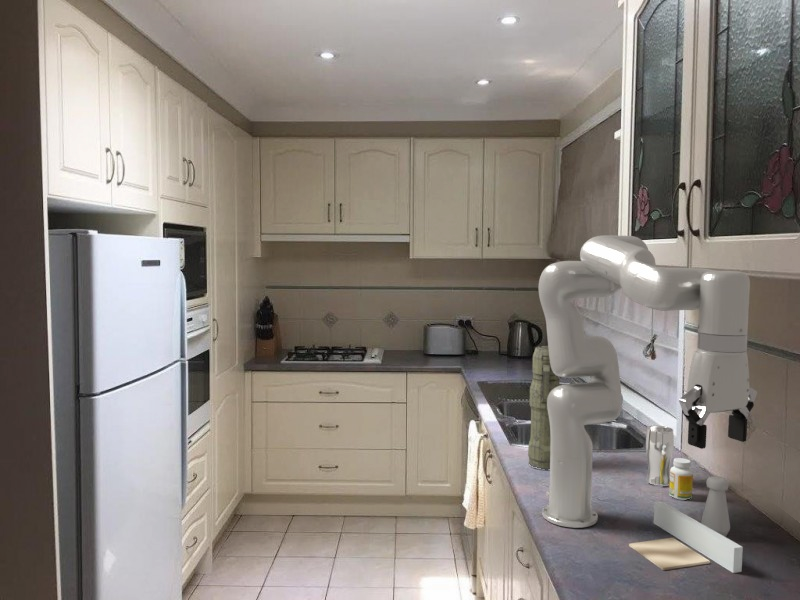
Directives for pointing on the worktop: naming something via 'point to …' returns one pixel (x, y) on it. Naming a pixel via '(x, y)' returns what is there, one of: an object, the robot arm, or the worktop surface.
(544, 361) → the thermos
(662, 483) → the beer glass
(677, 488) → the supplement bottle
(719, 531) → the salt shaker
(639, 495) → the worktop surface
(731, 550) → the acrylic wall
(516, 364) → the worktop surface
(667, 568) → the coaster board
